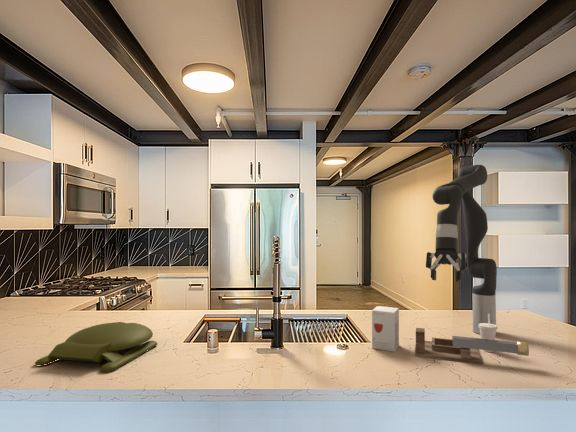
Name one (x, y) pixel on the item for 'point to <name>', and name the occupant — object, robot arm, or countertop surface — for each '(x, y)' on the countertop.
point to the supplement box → (385, 328)
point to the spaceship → (103, 345)
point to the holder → (443, 349)
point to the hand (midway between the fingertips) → (445, 280)
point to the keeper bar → (491, 345)
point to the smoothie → (487, 331)
